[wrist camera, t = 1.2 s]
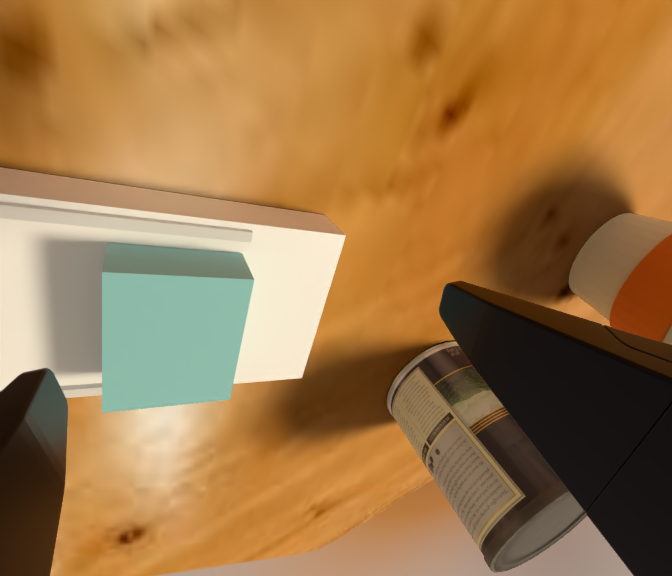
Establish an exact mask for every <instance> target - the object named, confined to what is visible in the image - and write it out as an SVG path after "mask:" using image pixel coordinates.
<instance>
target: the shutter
mask: <svg viewBox="0 0 672 576" xmlns="http://www.w3.org/2000/svg"><path fill="white" fill-rule="evenodd" d="M253 284H254V278H253V276H252V273H251V271H250V269H249V267H248V265H247V262H246V260H245V258H244V256H243V254H240V253H228V252H216V251H203V250H191V249H179V248H167V247H155V246H142V245H130V244H118V243H107V247H106V252H105V258H104V263H103V269H102V413H106V412H115V411H125V410H134V409H144V408H153V407H163V406H173V405H182V404H192V403H201V402H211V401H220V400H230V396H231V391H232V387H233V382H234V377H235V372H236V367H237V362H238V357H239V352H240V347H241V343H242V338H243V333H244V328H245V323H246V318H247V313H248V308H249V303H250V298H251V294H252V289H253Z"/></svg>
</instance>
